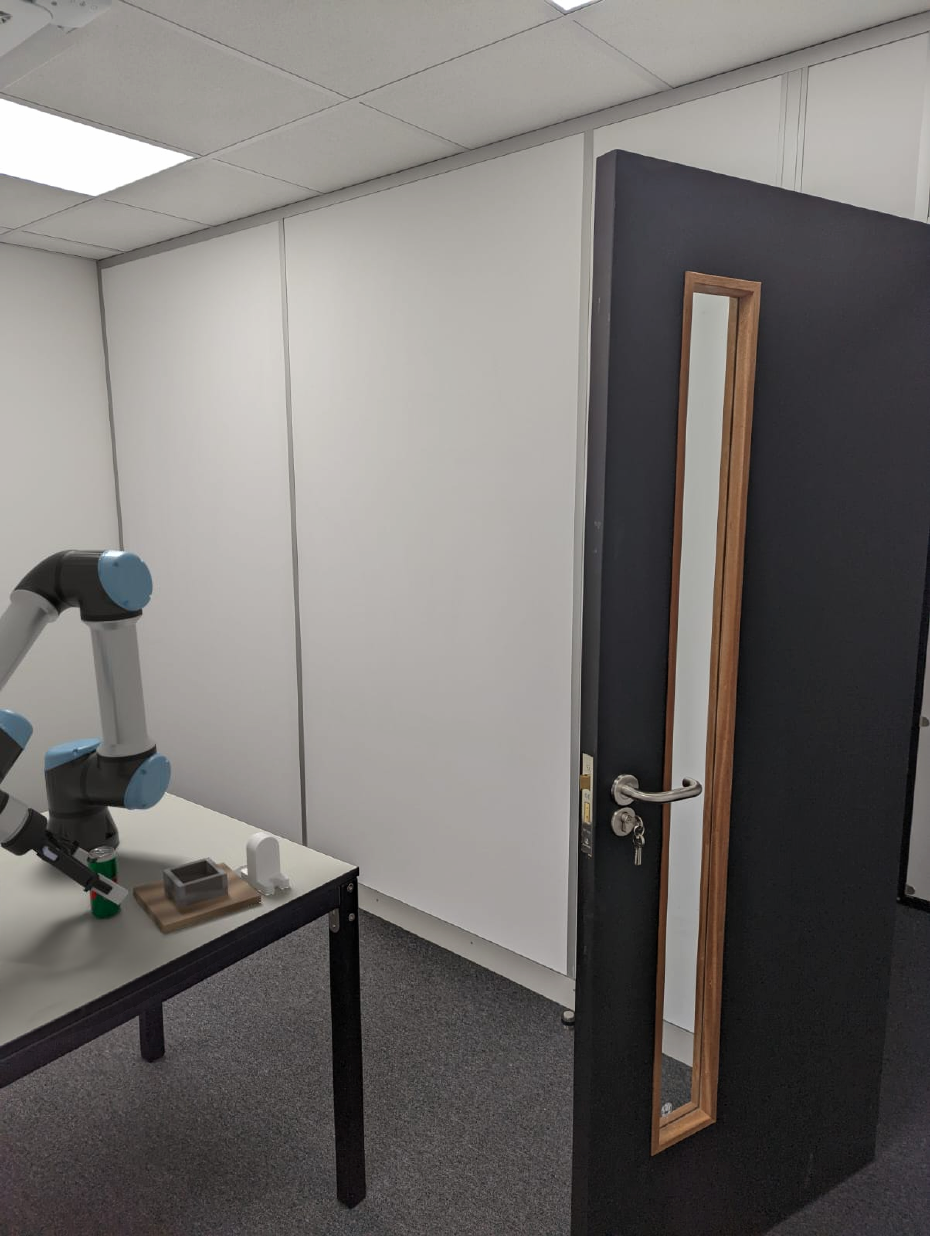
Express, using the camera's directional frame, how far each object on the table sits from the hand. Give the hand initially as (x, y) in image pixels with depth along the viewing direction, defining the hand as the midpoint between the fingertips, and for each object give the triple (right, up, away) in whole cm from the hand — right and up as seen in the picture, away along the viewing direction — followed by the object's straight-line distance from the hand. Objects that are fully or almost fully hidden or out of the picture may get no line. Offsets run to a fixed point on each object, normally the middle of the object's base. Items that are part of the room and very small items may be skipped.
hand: (112, 883), depth 158 cm
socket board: (+14, -4, +5) cm, 15 cm away
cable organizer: (+25, -4, +11) cm, 28 cm away
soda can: (-1, -6, 0) cm, 6 cm away
